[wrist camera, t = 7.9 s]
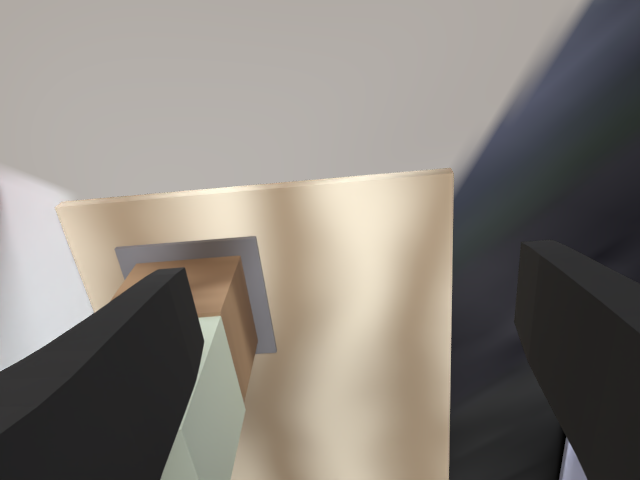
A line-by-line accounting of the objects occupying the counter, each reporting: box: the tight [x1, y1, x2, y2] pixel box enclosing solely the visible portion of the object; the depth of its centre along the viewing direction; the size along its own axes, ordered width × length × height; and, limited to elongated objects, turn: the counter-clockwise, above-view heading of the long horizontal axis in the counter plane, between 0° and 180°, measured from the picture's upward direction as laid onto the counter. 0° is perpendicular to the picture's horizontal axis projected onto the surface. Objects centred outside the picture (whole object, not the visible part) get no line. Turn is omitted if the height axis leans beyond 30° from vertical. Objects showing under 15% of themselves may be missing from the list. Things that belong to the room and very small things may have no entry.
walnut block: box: [110, 256, 258, 402], centre depth 21 cm, size 4×4×4 cm
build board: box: [55, 168, 454, 480], centre depth 25 cm, size 16×20×1 cm
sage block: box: [160, 316, 246, 480], centre depth 17 cm, size 4×4×5 cm
